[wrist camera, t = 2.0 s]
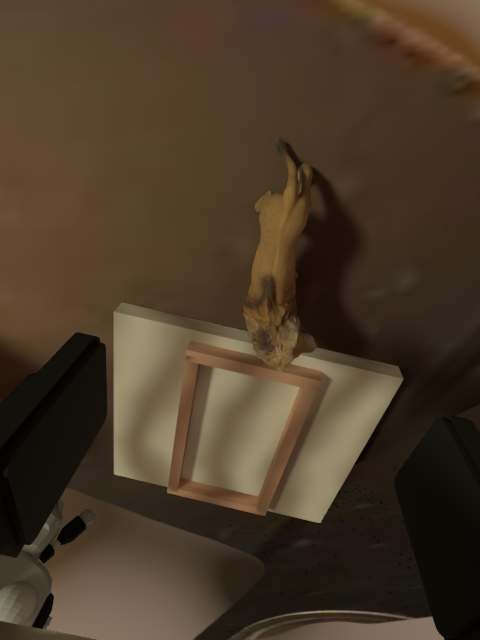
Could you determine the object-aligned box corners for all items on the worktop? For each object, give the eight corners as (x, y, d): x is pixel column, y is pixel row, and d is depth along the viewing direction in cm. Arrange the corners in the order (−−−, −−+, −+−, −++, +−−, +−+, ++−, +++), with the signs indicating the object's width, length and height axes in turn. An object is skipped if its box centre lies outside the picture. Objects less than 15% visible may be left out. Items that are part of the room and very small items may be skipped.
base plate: (398, 366, 27) (408, 389, 24) (318, 508, 37) (320, 535, 35) (122, 302, 27) (106, 319, 24) (120, 461, 37) (108, 484, 35)
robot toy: (107, 502, 41) (25, 674, 29) (98, 519, 44) (19, 685, 31) (8, 462, 40) (-125, 626, 27) (4, 482, 42) (-121, 642, 29)
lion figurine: (311, 316, 25) (318, 381, 19) (253, 317, 26) (241, 380, 20) (315, 134, 19) (327, 141, 13) (239, 141, 20) (217, 150, 14)
